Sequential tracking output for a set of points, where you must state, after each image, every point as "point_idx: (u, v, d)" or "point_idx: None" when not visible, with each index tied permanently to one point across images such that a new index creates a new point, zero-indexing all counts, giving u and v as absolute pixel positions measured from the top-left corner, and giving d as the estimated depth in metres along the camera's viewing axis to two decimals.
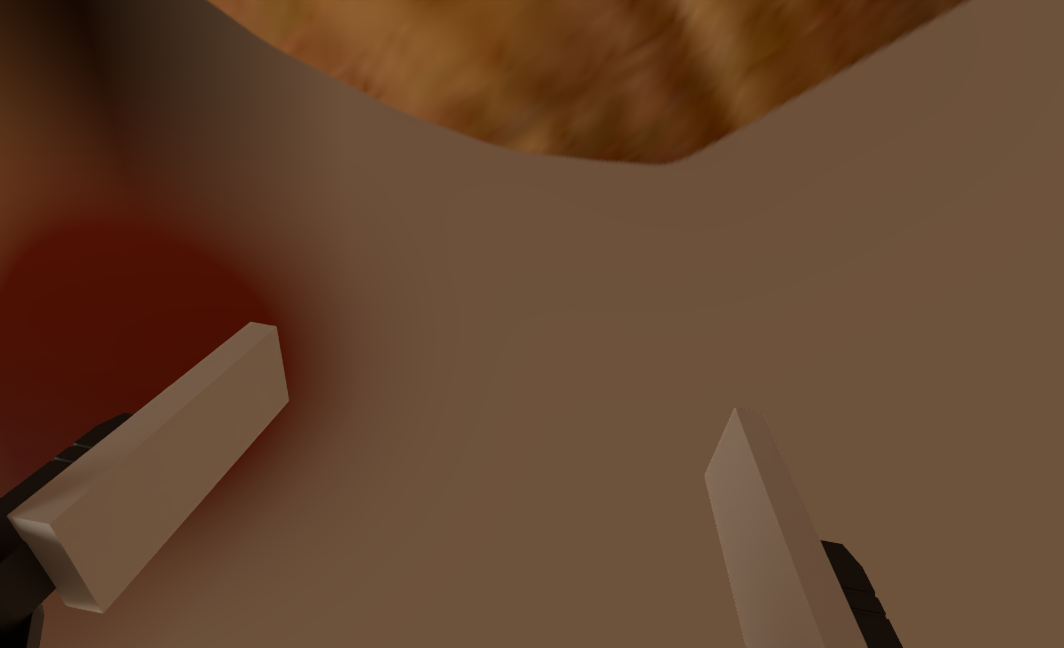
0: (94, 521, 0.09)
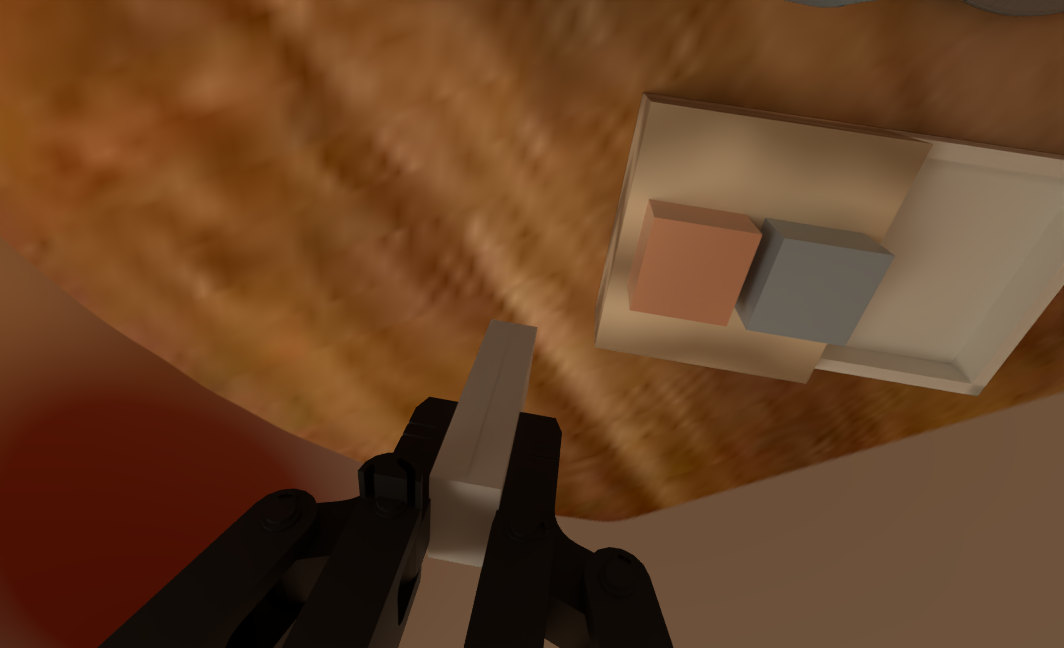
0: None
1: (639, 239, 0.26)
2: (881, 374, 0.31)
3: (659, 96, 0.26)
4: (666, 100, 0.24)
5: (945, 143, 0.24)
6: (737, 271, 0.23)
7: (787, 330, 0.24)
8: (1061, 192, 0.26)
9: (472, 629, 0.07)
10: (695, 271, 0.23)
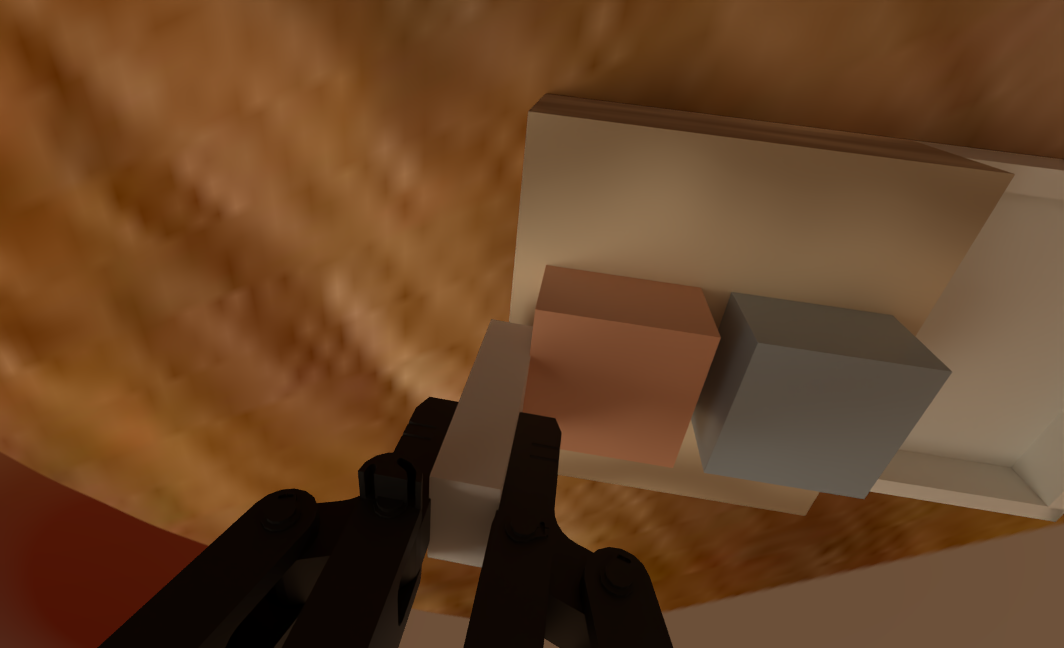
0: None
1: None
2: (915, 492, 0.21)
3: (564, 100, 0.16)
4: (566, 107, 0.15)
5: (1026, 167, 0.14)
6: (683, 392, 0.14)
7: (770, 475, 0.15)
8: None
9: (472, 629, 0.07)
10: (614, 391, 0.14)
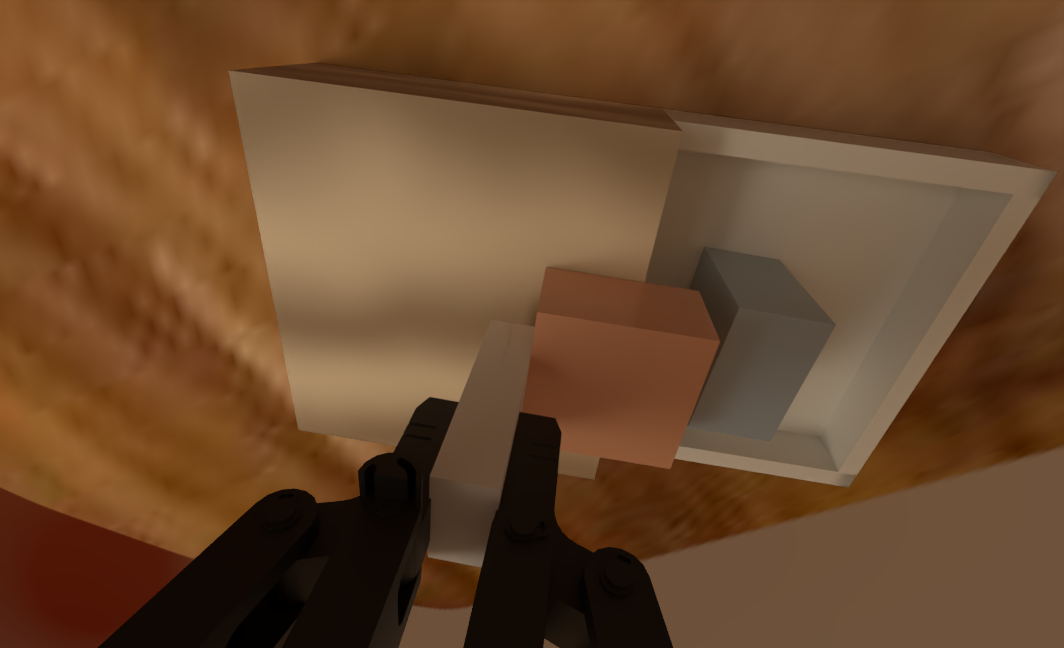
0: None
1: None
2: (713, 459, 0.22)
3: (318, 67, 0.17)
4: (297, 70, 0.15)
5: (730, 130, 0.15)
6: (682, 394, 0.14)
7: None
8: (938, 201, 0.17)
9: (472, 629, 0.07)
10: (614, 393, 0.14)
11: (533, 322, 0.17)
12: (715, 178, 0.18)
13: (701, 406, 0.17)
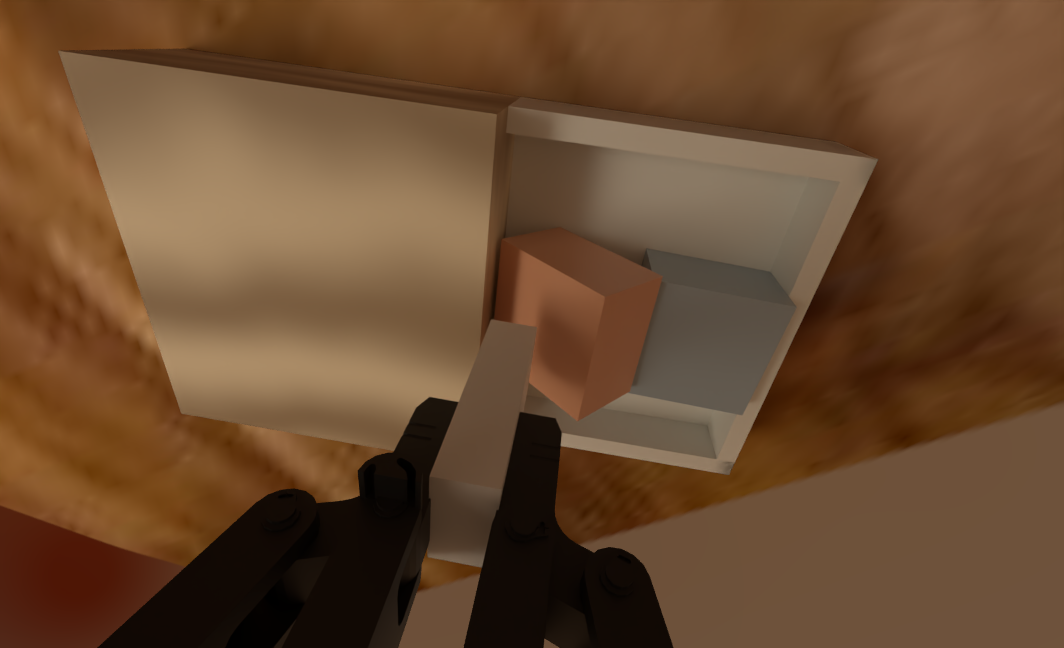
0: None
1: None
2: (596, 446, 0.22)
3: (178, 51, 0.17)
4: (143, 53, 0.16)
5: (564, 116, 0.15)
6: (582, 343, 0.16)
7: None
8: (789, 190, 0.18)
9: (472, 629, 0.07)
10: (541, 326, 0.17)
11: (387, 305, 0.17)
12: (574, 166, 0.18)
13: (751, 393, 0.19)
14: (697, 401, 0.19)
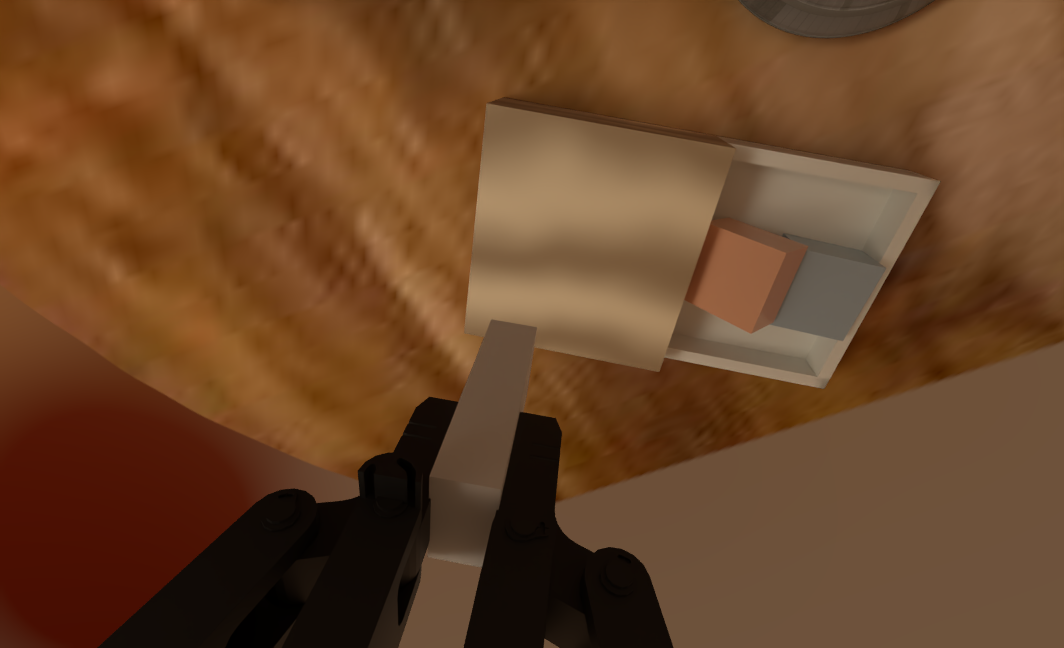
0: None
1: None
2: (735, 366, 0.33)
3: (512, 101, 0.28)
4: (510, 103, 0.27)
5: (759, 149, 0.26)
6: (763, 283, 0.27)
7: None
8: (879, 199, 0.29)
9: (472, 629, 0.07)
10: (730, 275, 0.28)
11: (635, 259, 0.28)
12: (746, 179, 0.29)
13: (850, 326, 0.30)
14: (814, 331, 0.30)
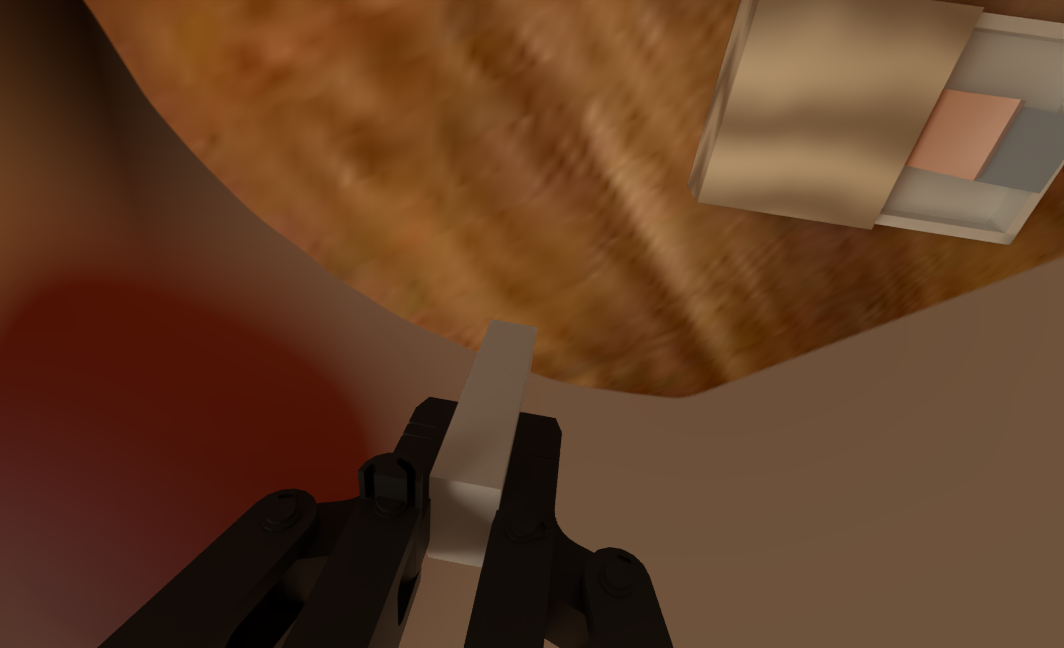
0: None
1: None
2: (931, 227, 0.37)
3: None
4: None
5: (991, 14, 0.31)
6: (992, 131, 0.31)
7: None
8: None
9: (472, 629, 0.07)
10: (954, 130, 0.32)
11: (871, 119, 0.32)
12: None
13: (1048, 178, 0.34)
14: (1015, 184, 0.34)
